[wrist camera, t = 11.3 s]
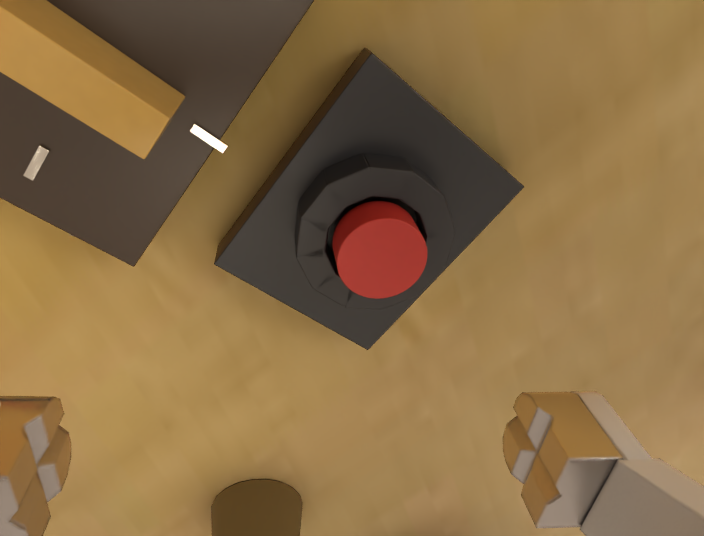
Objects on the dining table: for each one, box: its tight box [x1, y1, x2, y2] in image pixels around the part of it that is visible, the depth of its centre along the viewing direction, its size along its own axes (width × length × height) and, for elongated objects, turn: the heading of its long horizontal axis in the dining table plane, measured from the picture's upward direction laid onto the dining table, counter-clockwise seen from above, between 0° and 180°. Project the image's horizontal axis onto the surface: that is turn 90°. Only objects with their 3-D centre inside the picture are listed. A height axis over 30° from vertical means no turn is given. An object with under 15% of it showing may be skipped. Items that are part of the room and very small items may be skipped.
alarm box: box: [214, 48, 524, 350], centre depth 22 cm, size 11×9×4 cm
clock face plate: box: [0, 0, 314, 266], centre depth 18 cm, size 13×10×3 cm
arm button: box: [332, 201, 427, 299], centre depth 20 cm, size 4×4×2 cm
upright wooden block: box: [0, 0, 185, 159], centre depth 15 cm, size 6×2×3 cm, turn 51°
